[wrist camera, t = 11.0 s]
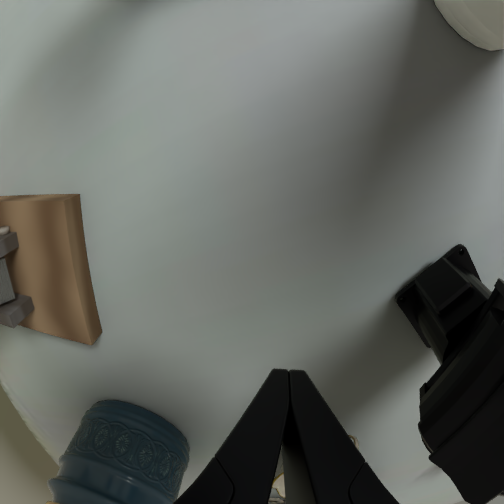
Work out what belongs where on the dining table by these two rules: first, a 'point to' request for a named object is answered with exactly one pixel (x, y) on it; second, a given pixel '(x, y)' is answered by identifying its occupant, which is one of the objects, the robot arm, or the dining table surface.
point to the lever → (5, 283)
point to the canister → (121, 458)
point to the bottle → (476, 21)
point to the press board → (48, 267)
